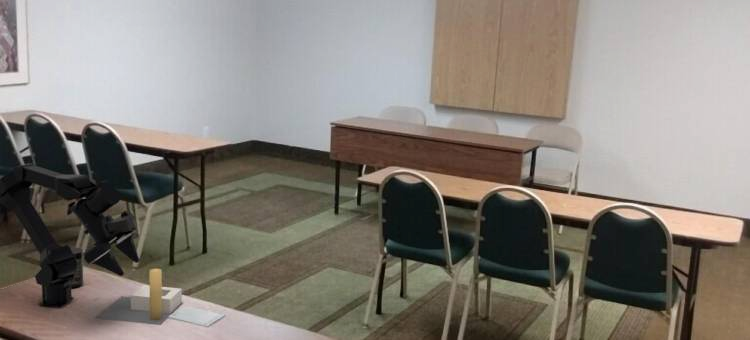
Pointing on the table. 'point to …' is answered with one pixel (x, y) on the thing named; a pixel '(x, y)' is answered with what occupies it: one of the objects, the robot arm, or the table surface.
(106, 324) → the table surface
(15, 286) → the table surface
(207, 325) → the hard drive
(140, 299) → the hole block
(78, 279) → the supplement container
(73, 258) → the robot arm
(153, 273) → the peg
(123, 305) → the mat
